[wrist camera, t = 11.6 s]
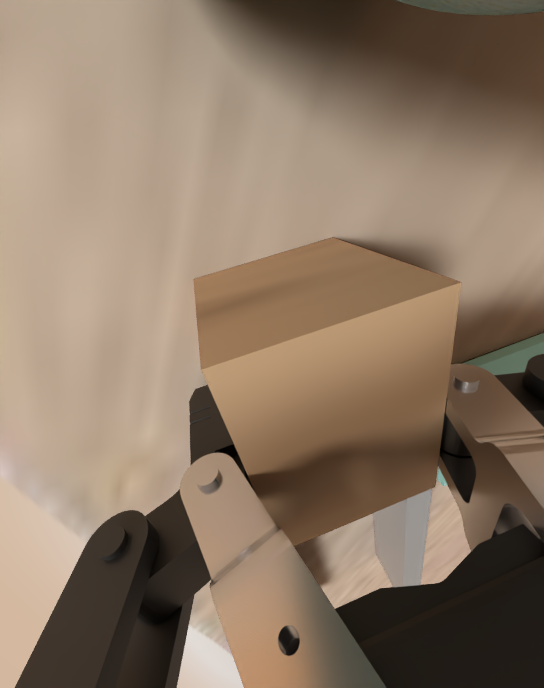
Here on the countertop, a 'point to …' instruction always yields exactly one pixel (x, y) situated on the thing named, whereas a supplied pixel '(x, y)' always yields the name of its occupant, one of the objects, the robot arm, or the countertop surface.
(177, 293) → the countertop surface
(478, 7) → the flower pot
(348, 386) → the light brown block
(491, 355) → the teal mat
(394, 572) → the chute
